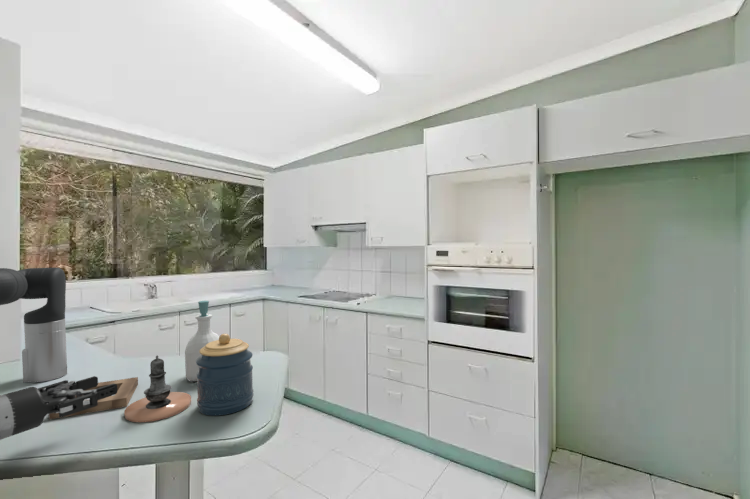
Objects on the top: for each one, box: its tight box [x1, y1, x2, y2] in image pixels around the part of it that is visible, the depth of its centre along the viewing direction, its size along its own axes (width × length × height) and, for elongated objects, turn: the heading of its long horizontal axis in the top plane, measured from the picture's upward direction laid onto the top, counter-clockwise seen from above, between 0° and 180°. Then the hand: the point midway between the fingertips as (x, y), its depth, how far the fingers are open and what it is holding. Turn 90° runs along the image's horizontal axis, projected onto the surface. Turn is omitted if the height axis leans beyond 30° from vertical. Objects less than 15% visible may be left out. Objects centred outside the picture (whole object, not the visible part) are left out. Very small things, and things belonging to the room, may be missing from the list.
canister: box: [196, 333, 254, 417], centre depth 90 cm, size 13×13×18 cm
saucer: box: [124, 391, 192, 423], centre depth 89 cm, size 14×14×1 cm
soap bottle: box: [184, 300, 220, 383], centre depth 109 cm, size 10×10×23 cm
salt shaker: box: [143, 355, 173, 409], centre depth 89 cm, size 6×6×12 cm
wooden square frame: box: [48, 376, 139, 420], centre depth 94 cm, size 15×15×2 cm
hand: (106, 384), depth 79 cm, fingers open, 8 cm apart
